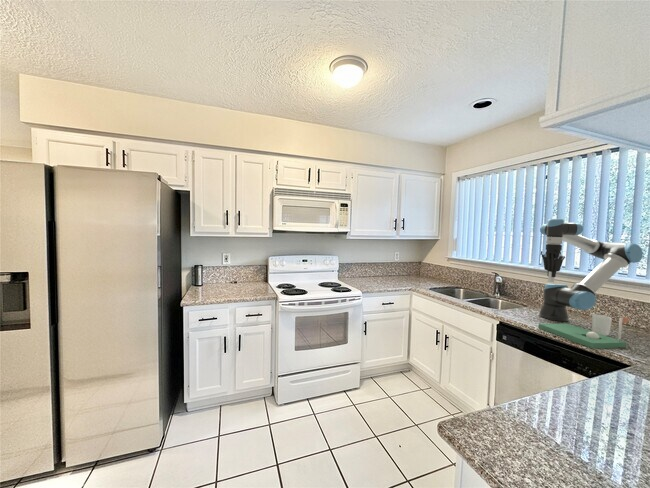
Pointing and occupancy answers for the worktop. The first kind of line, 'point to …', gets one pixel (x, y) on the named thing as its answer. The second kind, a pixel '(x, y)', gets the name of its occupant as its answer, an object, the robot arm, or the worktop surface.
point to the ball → (592, 335)
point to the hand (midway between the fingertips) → (550, 282)
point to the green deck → (580, 335)
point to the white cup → (601, 324)
